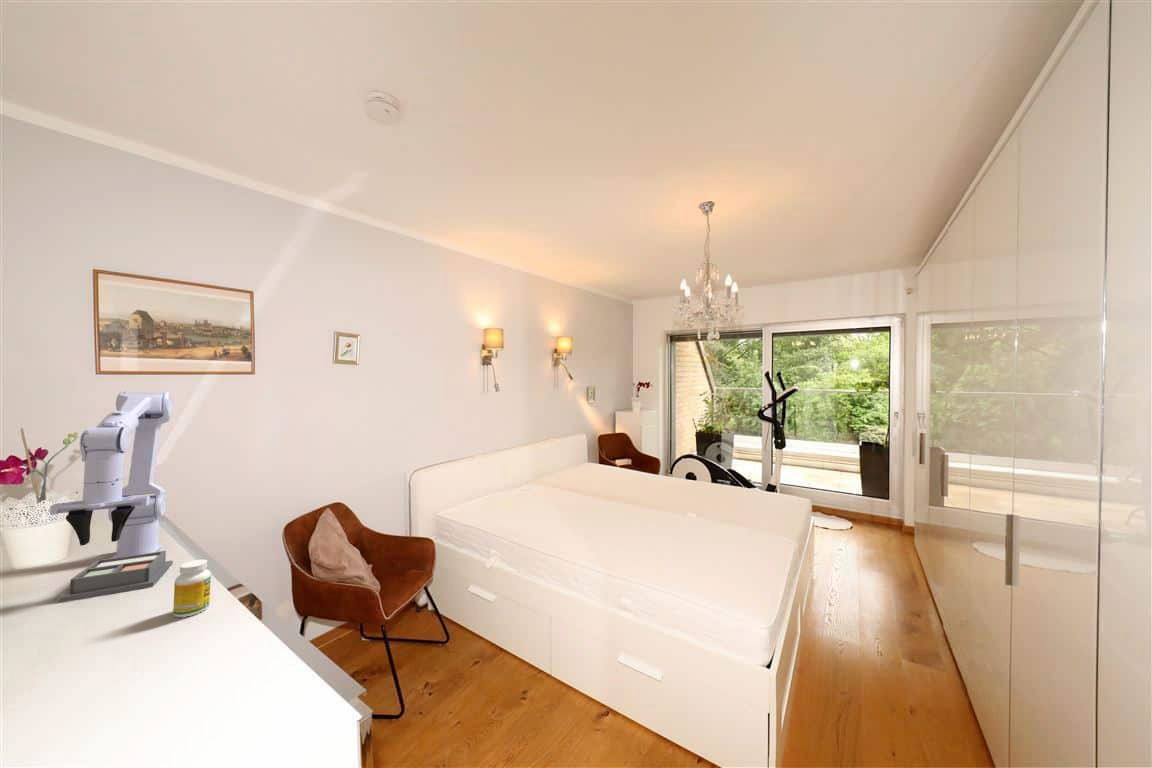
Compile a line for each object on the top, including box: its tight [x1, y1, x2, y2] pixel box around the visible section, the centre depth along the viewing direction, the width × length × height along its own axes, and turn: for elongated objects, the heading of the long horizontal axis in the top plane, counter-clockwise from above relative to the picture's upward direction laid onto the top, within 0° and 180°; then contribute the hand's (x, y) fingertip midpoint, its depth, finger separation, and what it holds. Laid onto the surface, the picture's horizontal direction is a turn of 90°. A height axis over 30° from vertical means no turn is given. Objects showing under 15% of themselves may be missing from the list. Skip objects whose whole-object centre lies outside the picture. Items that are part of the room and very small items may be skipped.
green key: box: [84, 568, 116, 577], centre depth 90 cm, size 4×4×2 cm
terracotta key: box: [122, 563, 150, 571], centre depth 93 cm, size 4×4×2 cm
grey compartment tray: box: [58, 550, 173, 603], centre depth 93 cm, size 14×14×4 cm
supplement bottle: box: [172, 559, 212, 618], centre depth 82 cm, size 5×5×10 cm
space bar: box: [97, 555, 158, 567], centre depth 96 cm, size 4×10×2 cm, turn 122°
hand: (100, 542), depth 90 cm, fingers open, 4 cm apart
